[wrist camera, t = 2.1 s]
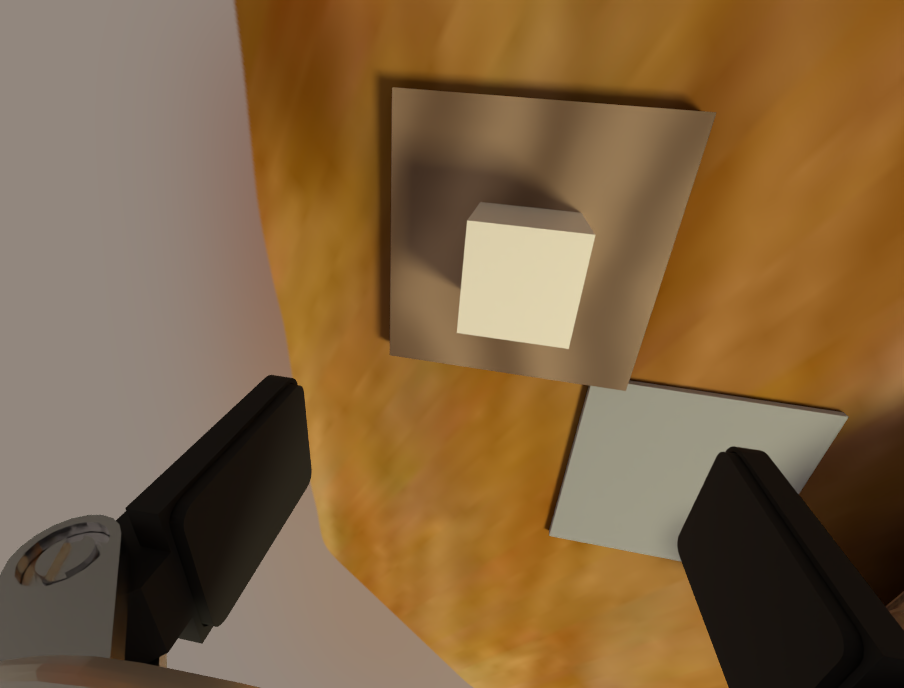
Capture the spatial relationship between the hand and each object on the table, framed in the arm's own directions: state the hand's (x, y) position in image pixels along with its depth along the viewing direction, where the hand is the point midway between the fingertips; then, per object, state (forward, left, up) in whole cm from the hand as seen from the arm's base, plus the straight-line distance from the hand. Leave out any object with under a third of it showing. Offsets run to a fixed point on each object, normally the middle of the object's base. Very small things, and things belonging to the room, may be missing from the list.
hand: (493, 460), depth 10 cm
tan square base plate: (0, 0, -19) cm, 19 cm away
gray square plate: (-14, +16, -19) cm, 28 cm away
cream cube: (0, 0, -17) cm, 17 cm away
